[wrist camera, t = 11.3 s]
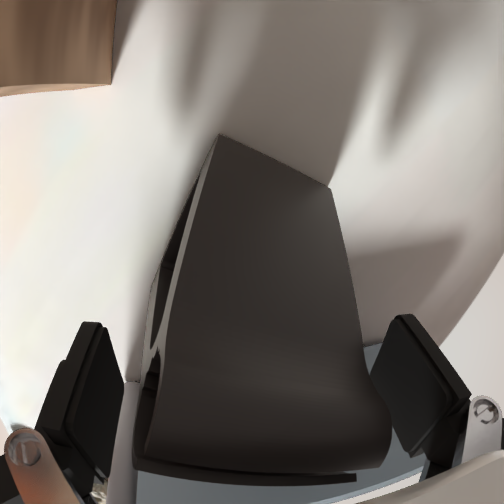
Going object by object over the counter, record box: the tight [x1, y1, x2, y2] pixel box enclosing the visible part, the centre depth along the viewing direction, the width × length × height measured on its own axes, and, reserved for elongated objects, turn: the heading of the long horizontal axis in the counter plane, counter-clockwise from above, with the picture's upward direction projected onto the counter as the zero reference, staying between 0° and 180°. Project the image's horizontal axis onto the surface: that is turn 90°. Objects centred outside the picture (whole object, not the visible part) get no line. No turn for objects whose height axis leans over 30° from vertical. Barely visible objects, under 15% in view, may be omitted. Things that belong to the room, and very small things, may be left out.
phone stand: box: [132, 134, 392, 486], centre depth 11 cm, size 9×6×12 cm, turn 153°
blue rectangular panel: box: [106, 343, 426, 504], centre depth 16 cm, size 20×2×10 cm, turn 96°
